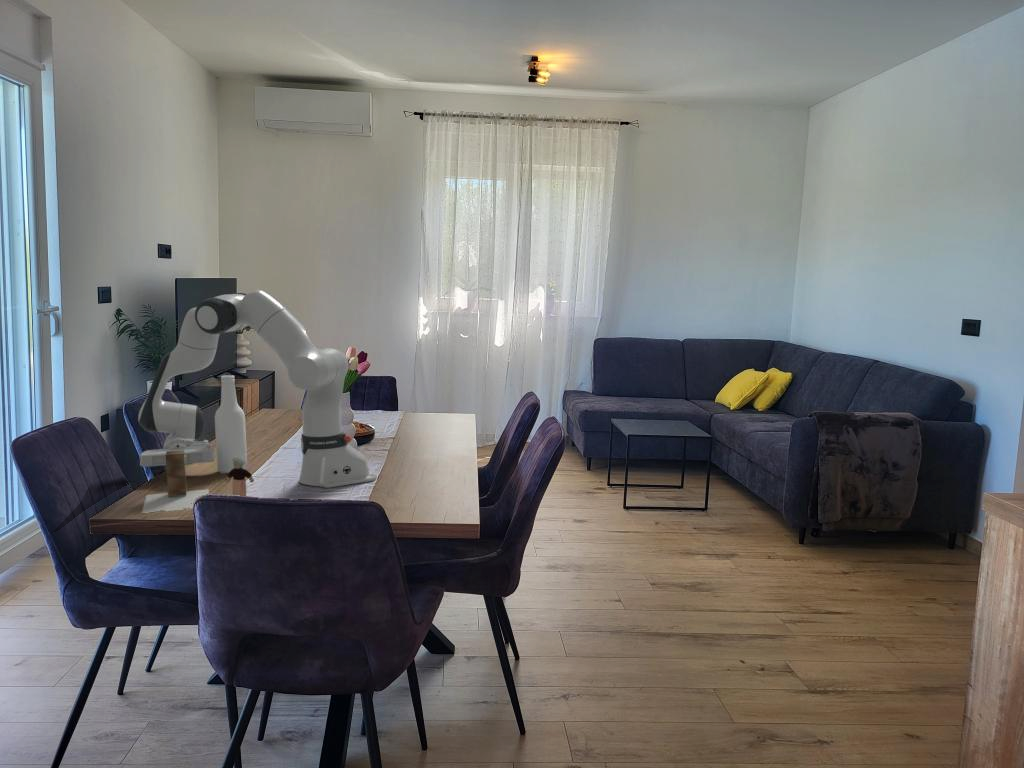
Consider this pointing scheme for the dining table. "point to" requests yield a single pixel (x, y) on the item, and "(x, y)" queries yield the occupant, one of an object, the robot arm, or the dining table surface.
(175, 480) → the walnut block
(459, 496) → the dining table surface
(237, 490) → the grandmother figurine
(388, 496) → the dining table surface
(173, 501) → the felt mat
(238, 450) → the alcohol
